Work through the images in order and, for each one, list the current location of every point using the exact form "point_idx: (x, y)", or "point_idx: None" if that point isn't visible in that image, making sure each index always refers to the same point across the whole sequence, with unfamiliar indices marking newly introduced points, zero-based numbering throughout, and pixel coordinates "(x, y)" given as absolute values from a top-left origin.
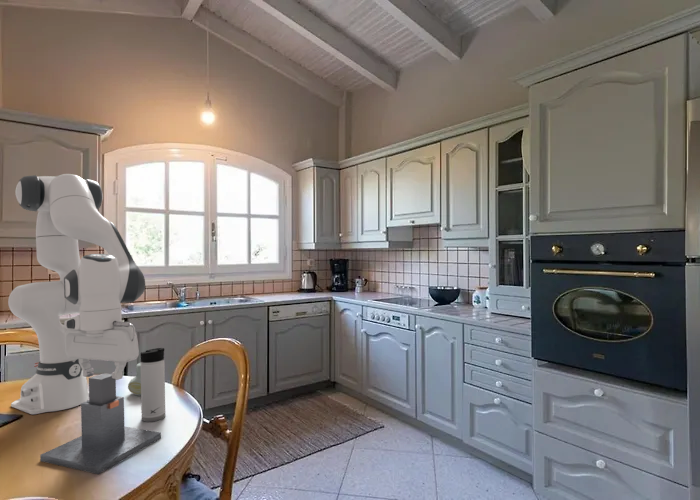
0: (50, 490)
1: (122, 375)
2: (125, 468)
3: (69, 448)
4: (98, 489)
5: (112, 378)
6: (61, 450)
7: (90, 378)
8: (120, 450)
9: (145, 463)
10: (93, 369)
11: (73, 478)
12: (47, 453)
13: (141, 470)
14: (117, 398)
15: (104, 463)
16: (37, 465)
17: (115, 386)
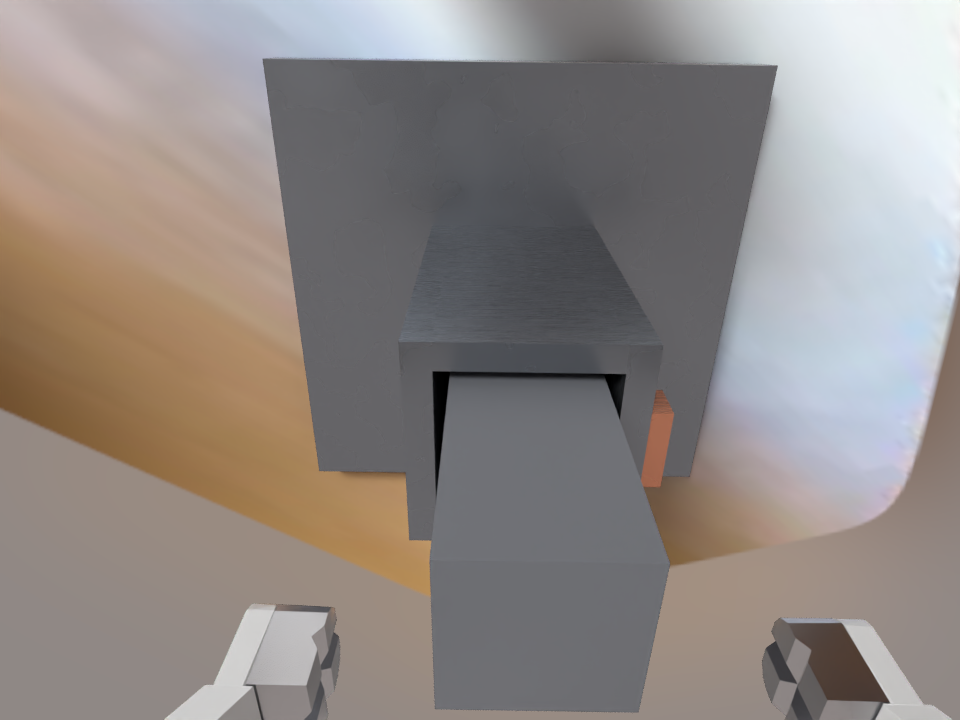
0: None
1: (883, 644)
2: (769, 395)
3: (388, 395)
4: (764, 523)
5: (773, 686)
6: (370, 418)
7: (465, 708)
8: (676, 339)
9: (841, 338)
10: (313, 670)
11: None
12: (337, 455)
13: (858, 389)
14: (631, 391)
15: (694, 449)
16: (353, 475)
17: (632, 461)
